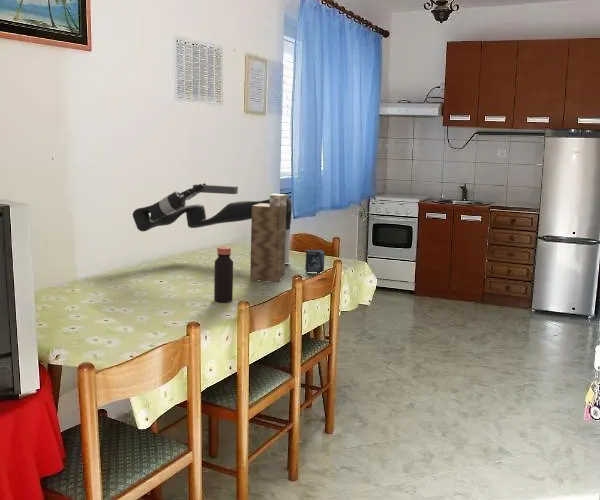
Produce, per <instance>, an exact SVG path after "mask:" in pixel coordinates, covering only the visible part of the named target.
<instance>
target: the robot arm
mask: <svg viewBox="0 0 600 500" xmlns="http://www.w3.org/2000/svg"><path fill="white" fill-rule="evenodd" d="M197 185H198V186H196V187H193V186H192V187H191V188H188V189H186V190H183V191H181V192H180V191H178V190H177V191H174V192H172V193H171V194H168V195H167V196H165V197H163V198H162V199H160V200H159V201H157V202H155V203H154V204H152V205H148V206H144V207H139V208H136V209H135V210H134V211H133V212H132V217H133V221H134V224H135V226H136V228H137V230H138V231H140V232H147V231H149V230H151V229H154V228H156V227H160V226H161V227H162V226H169V225H172V224H173V223H175V222H176V221H177V220H178V219H179V218H180V217H181V216H182V215H184V214H185V215H186V223H187V227H188V228H191V229H198V228H202V227H208V226H212V225H218V224H224V223H225V224H226V223H235V222H240V221H247V220H252V206H253V205H256V204H259V203H266V204H270V198H269V199H264V200H242V201H235V202H230V203H228V204H226V205H225V206H223V208H222V209H221V210H219V212H217V213H216V214H215V215H213V216H212V217H210V218H207V215H206V210H205V206H204V205H203V204H190V205H186V201H189V200H191V199H192V198H194V197H196V196H197V195H198V194H201V193H202V192H198V191H199V190H201V189H203V186H202V185H207V183H205V182H203V183H200V184H197ZM292 204H293V203H292V200H291V198H290V197H289V196H287V200H286V236H285V263H290V243H291V241H290V240H291V238H290V237H291V224H292V210H293V208H292V206H293V205H292Z"/></svg>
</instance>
